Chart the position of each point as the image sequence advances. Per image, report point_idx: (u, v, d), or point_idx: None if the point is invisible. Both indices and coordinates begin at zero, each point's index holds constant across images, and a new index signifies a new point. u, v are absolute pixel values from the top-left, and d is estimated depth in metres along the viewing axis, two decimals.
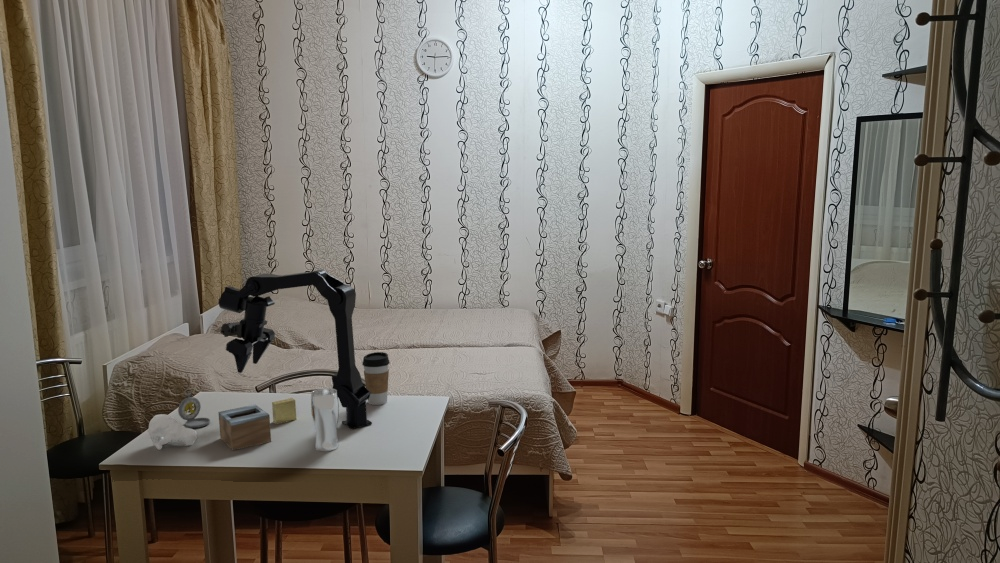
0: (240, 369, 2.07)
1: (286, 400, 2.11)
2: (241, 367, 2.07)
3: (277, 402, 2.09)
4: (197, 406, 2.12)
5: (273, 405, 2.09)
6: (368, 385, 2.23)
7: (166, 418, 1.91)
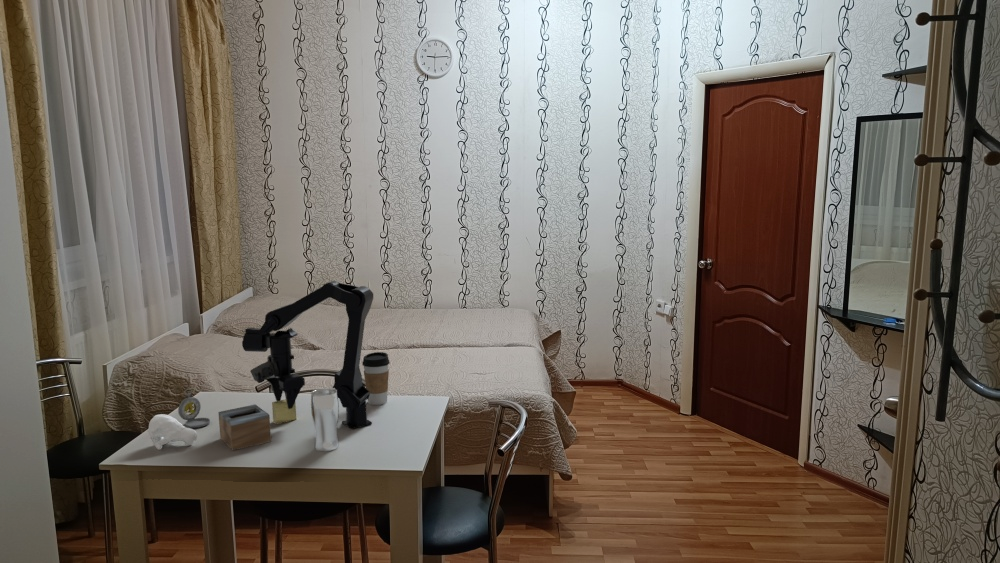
0: (291, 405, 2.06)
1: None
2: (293, 402, 2.06)
3: (277, 402, 2.09)
4: (197, 406, 2.12)
5: (273, 405, 2.09)
6: (368, 385, 2.23)
7: (166, 418, 1.91)
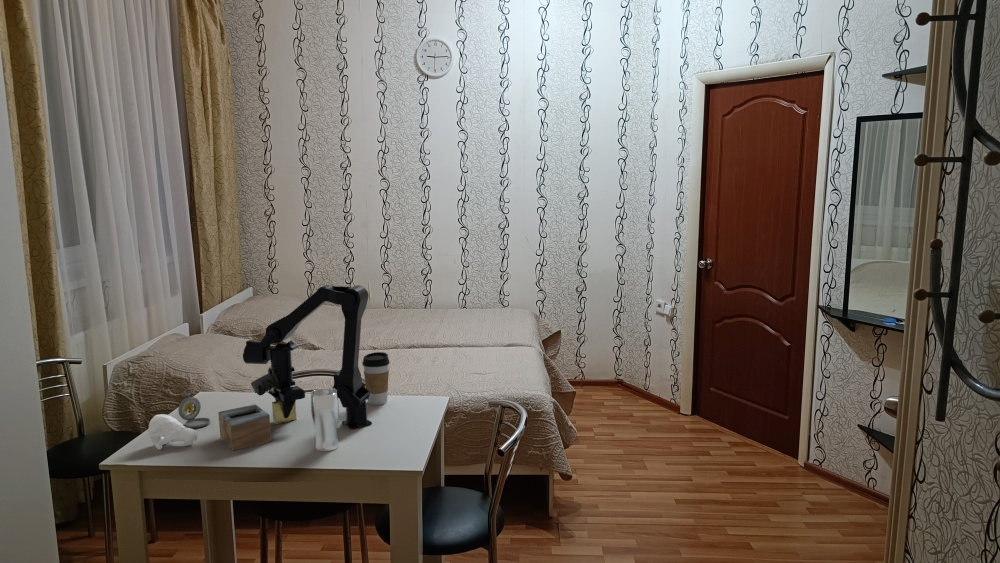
0: (287, 414, 2.09)
1: None
2: (289, 411, 2.09)
3: (277, 402, 2.09)
4: (197, 406, 2.12)
5: (273, 405, 2.09)
6: (368, 385, 2.23)
7: (166, 418, 1.91)
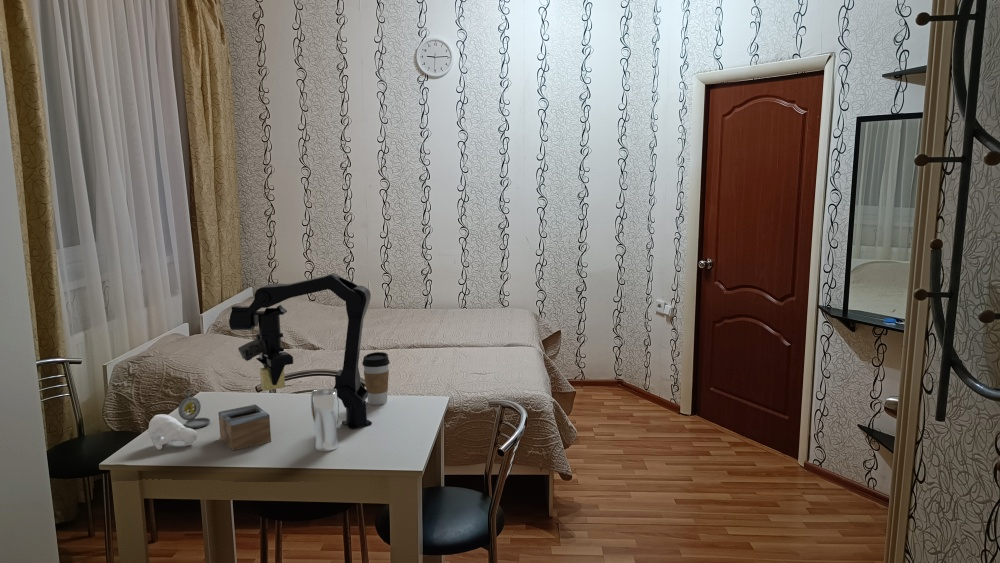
0: (275, 381, 2.04)
1: None
2: (277, 378, 2.04)
3: (265, 368, 2.04)
4: (197, 406, 2.12)
5: (261, 371, 2.04)
6: (368, 385, 2.23)
7: (166, 418, 1.91)
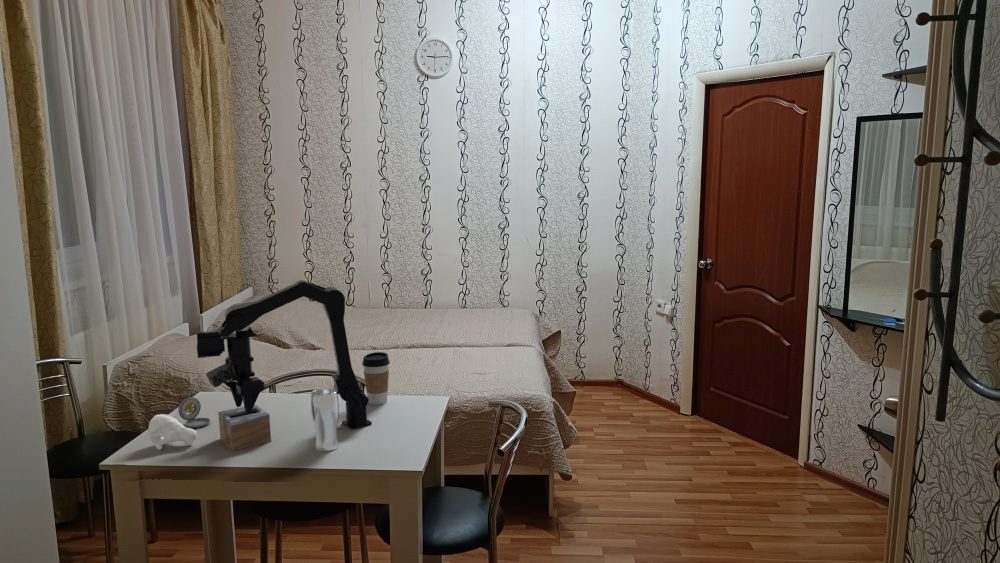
0: (249, 410, 1.92)
1: None
2: (251, 407, 1.92)
3: None
4: (197, 406, 2.12)
5: None
6: (368, 385, 2.23)
7: (166, 418, 1.91)
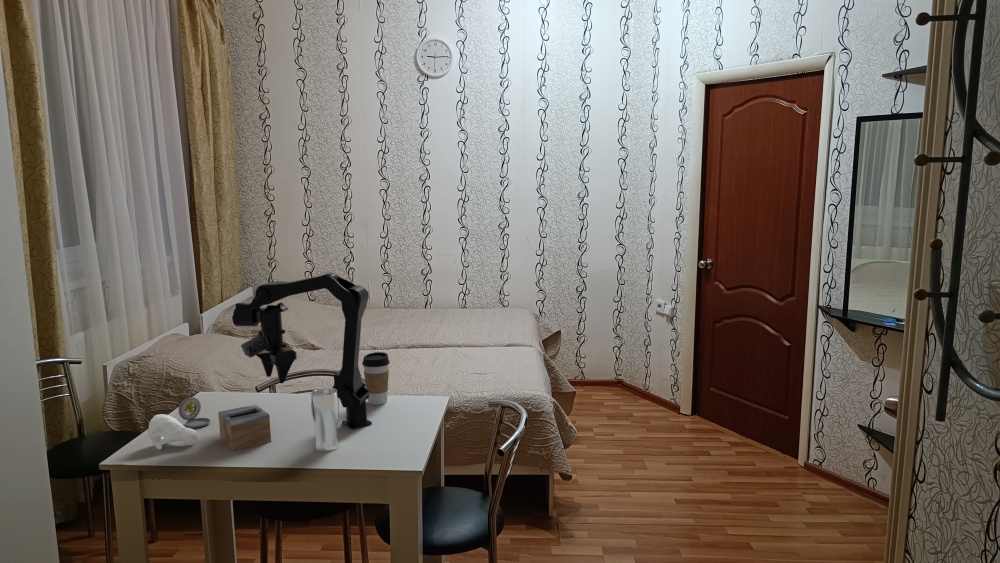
0: (283, 379, 2.05)
1: None
2: (284, 376, 2.05)
3: None
4: (197, 406, 2.12)
5: None
6: (368, 385, 2.23)
7: (166, 418, 1.91)
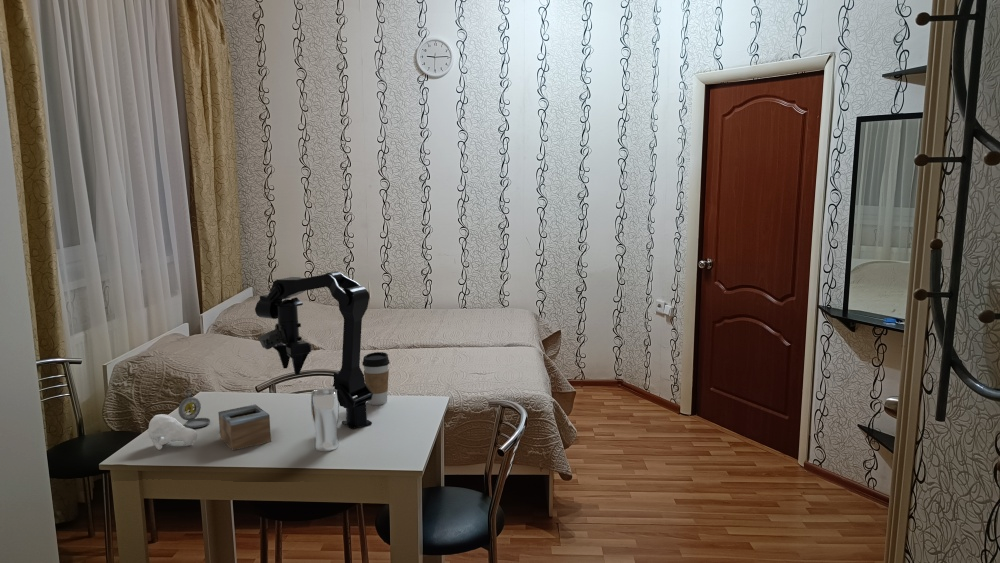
0: (298, 371, 2.13)
1: None
2: (299, 368, 2.13)
3: None
4: (197, 406, 2.12)
5: None
6: (368, 385, 2.23)
7: (166, 418, 1.91)
